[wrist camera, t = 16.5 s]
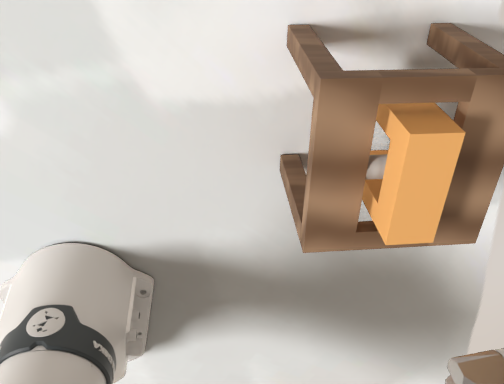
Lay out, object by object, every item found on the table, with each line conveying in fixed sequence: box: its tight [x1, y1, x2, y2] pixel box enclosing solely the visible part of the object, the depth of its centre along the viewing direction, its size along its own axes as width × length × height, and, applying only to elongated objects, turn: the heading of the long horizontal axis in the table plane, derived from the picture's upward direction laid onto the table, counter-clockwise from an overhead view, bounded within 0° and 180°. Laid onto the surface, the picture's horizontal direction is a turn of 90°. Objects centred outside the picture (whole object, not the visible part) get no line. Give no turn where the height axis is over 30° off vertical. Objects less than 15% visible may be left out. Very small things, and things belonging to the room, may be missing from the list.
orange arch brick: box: [362, 103, 466, 245], centre depth 41 cm, size 10×4×12 cm, turn 179°
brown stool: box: [280, 23, 504, 253], centre depth 44 cm, size 16×16×14 cm
